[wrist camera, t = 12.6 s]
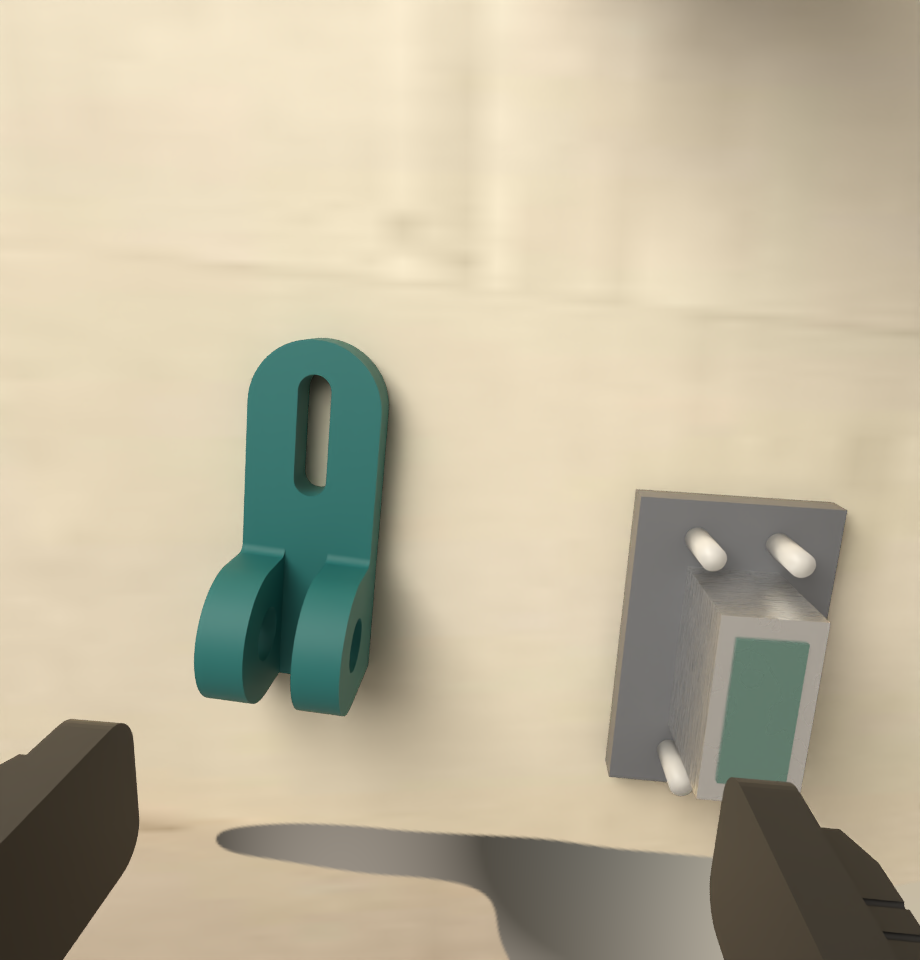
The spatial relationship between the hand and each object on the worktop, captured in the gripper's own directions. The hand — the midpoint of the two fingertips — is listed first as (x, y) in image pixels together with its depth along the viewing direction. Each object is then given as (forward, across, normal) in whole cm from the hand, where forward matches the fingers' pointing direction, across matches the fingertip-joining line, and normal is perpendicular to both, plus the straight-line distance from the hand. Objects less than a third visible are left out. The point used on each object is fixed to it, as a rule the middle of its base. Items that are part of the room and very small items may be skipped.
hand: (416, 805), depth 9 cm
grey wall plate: (+28, -13, +10) cm, 32 cm away
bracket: (+28, +9, +4) cm, 30 cm away
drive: (+26, -13, +10) cm, 31 cm away
